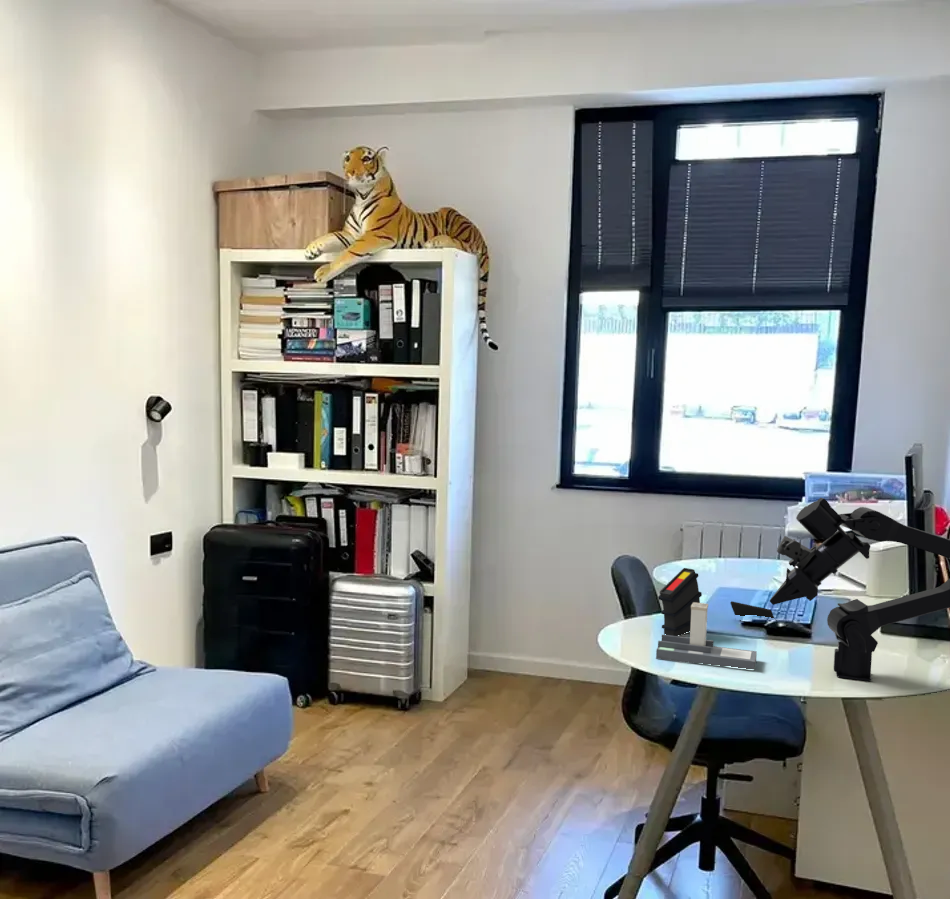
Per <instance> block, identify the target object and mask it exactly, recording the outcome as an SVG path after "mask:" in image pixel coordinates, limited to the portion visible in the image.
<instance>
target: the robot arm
mask: <svg viewBox="0 0 950 899" xmlns="http://www.w3.org/2000/svg"><path fill="white" fill-rule="evenodd" d="M796 521H798V522H799V523H800V525H802V526H803V528H804V529H805V530H806V531H807V532H808V533H809V534H810V535H811V536H812V537H813V538H814V539H815V540H821V539H822V540H824V541H823V542H822V543H821V544H819V545H818V546H817V545H814V546H812V547H810V548H808V547H806V545H804V544H802V543H801V542H800V541H797V540H796V539H792V538H790V537H788V536H786V535H784V536H783V537H782V538H781V541H780V543H779V545H778V546H777V549H776V552H777V553H778V554H780V555H782V556H786V557H788V558H789V559H791V560H789V562H788V564H789V566H792V567H793V568H792V569H790V568H788V567H787V568H786V572H785V574H786V575H785V577H786V578H785V580H784V581H783V582H782V583H781V585H780V587H779V588H778V589H777V590H776V591H775V593H773V595H772V597H771V598H770V599H769V602H770V604H771V605H777V604H781V603H785V602H790V601H795V600H797V599H802V598H806V599H808V601H810V602H811V601H813V599H814V598H816V597H817V596H818V594H819V586H820V585H822V582H823V581H825V579H827V578H828V577H829V576H830V575H832V574H833V575H835V574H836V573H837V572H838V571H839V570H838V569H840V568H841V567H842V566H843V565H844V564H846V563H847V562H848V561H850V560H851V559H852V558H854V556H856V555H858V553H859V554H861V555H862V556H863V557H864V558H865V559H866V560H868V559H870V549H871V544H870V543H869V542H867V541H866V542H865V541H862V540H861V539H860V538H859V537H858V536H857V535H859V536H861V537H864V538H866V539H869V540H873V541H880V542H891V543H892V542H894V543H900V544H903V545H907V546H909V547H912V548H915V549H919V550H923V551H925V552H928V553H931V554H935V555H937V556H940V557H944V558H945V559H946V561H947V565H948V569H949V571H950V539H949V538H946V537H943V536H940V535H936V534H934V533H930V532H928V531H924V530H920V529H918V528H914V527H911V526H908V525H904V524H903V523H900V522H899V521H897V520H895V519H894V518H892V517H890V516H888V515H886V514H884V513H883V512H880V511H878V510H875V509H872V508H870V507H866V506H865V507H864V506H860V507H858V508H855V509H854V510H853V511H852V512H847V513H838V512H837V511H836V510H835V509H834V508H833V507H832V506H831V505H830V503H829V501H828V500H827V499H825V498H823V497H819V498H818V499H817V500H816V501H813V502H811V503H809V505H807V506H804V507H803V508H802V509H800V511H799V512H798V514H797V516H796ZM841 526H842V527H845V528H847V529H849V530H851V531H852V532H848V533H847V532H846V531H845V530H844V529H843V528H842V527H841ZM856 534H857V535H856ZM948 609H950V578H948V579H947V580H946V581H944V583H942V584H941V585H940V586H938V587H934V588H930V589H927V590H921V591H920V592H916V593H912V594H908V595H904V596H901V597H897V598H893V599H891V600H890V599H889V600H887V601H886V600H885V601H883V602H879V603H876V604H871V605H868V604H866V603H864V602H863V601H861V600H859V599H858V598H855V599H852V600H850V601H848V602H846V603H845V602H844V603H840V602H839V603H837V606H835V607H834V608H832V609H831V610H830V611H829V613H828V615H827V619H826V621H827V622H826V623H827V626H828V627H829V630H831V631H832V632H833V633H834V636H835V639H836V640H838V642H837V648H834V654H833V672H835V674H836V677H837V678H843V679H849V680H850V679H851V680H858V681H865V682H866V681H867V682H872V680H873V678H872V674H871V673H872V661H873V660H872V658H873V657H872V656H873V653H874V652H875V650H876V648H877V646H878V644H879V643H878V642H879V641H878V640H877V639H876V638H875V637H874V636H873V634H875V632H877V631H878V630H879V629H880V628H882V627H884V626H887V625H893V624H896V623H900V622H903V621H906V620H910V619H913V618H914V619H915V618H917V617H921V616H925V615H928V614H932V613H936V612H939V611H944V610H948Z"/></svg>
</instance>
